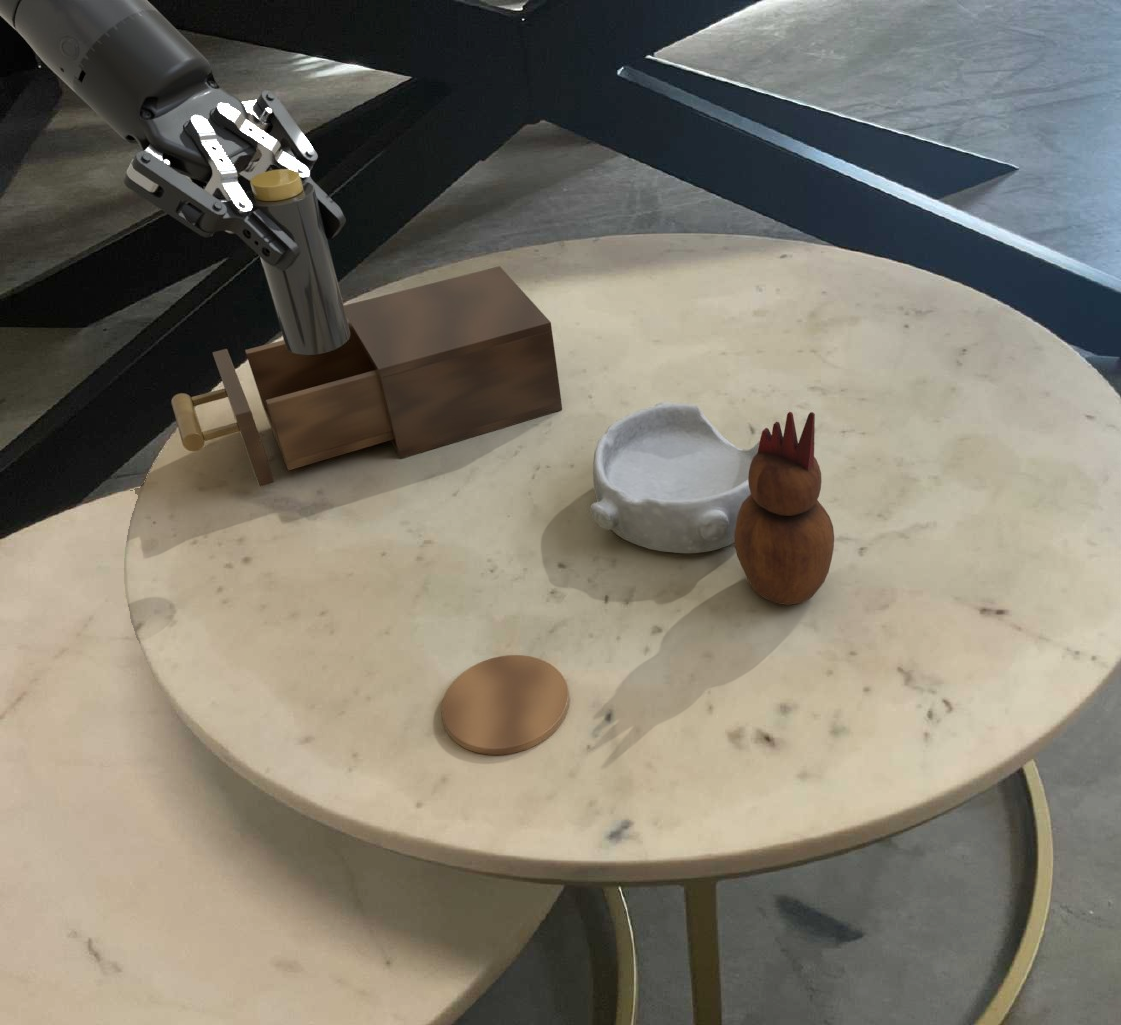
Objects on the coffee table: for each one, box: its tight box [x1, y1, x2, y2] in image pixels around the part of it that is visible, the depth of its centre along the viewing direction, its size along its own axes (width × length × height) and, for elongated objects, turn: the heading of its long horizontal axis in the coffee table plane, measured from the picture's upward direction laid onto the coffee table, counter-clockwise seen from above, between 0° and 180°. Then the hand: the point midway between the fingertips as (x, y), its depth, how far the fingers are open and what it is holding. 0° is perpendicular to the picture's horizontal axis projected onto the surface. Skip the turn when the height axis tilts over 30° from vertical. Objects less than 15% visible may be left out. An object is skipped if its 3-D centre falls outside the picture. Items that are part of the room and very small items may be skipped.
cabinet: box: [343, 265, 563, 459], centre depth 99 cm, size 15×13×9 cm
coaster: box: [440, 654, 571, 756], centre depth 72 cm, size 8×8×1 cm
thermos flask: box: [245, 168, 350, 355], centre depth 78 cm, size 5×5×12 cm
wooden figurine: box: [734, 411, 835, 606], centre depth 75 cm, size 7×6×15 cm
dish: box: [589, 401, 760, 554], centre depth 86 cm, size 14×14×5 cm
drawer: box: [171, 323, 394, 488], centre depth 94 cm, size 18×11×7 cm, turn 117°
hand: (314, 245), depth 77 cm, fingers closed on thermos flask, 4 cm apart
